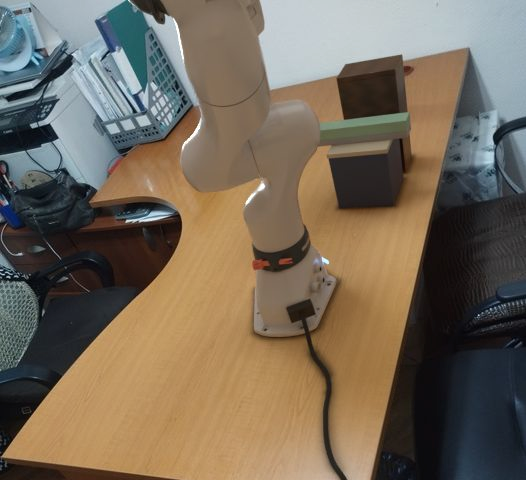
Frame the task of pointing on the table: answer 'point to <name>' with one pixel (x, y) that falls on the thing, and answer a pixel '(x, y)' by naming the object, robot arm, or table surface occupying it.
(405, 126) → the green box
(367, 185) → the archive box
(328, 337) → the table surface
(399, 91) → the shelf
